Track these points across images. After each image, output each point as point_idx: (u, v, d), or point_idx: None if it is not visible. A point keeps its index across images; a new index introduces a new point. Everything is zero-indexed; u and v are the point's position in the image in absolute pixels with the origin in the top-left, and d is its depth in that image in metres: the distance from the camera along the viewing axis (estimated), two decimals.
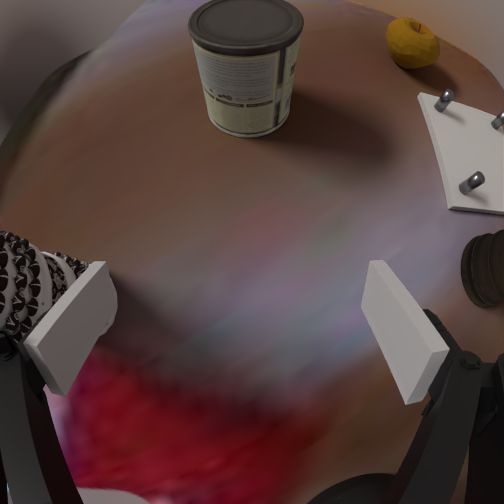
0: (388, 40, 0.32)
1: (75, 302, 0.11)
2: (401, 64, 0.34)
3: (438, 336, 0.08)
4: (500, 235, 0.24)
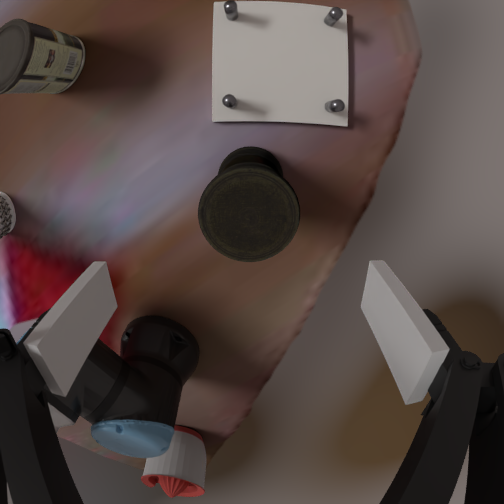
0: None
1: (75, 302, 0.11)
2: None
3: (438, 336, 0.08)
4: (229, 162, 0.33)
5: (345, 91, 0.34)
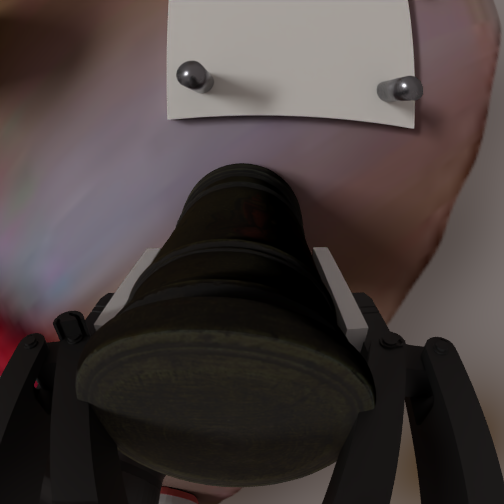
0: None
1: None
2: None
3: (359, 315, 0.10)
4: (194, 204, 0.16)
5: (409, 66, 0.16)
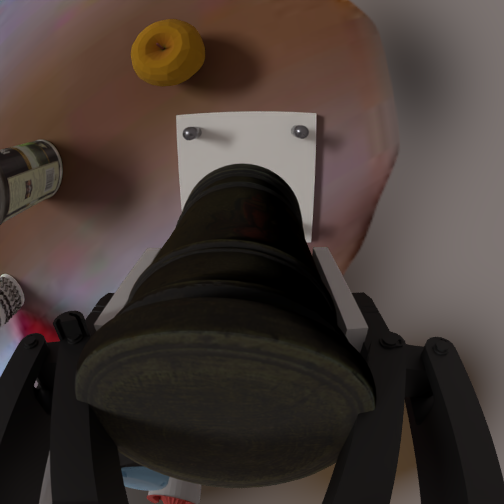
0: None
1: None
2: None
3: (359, 315, 0.10)
4: (194, 205, 0.16)
5: (310, 209, 0.40)
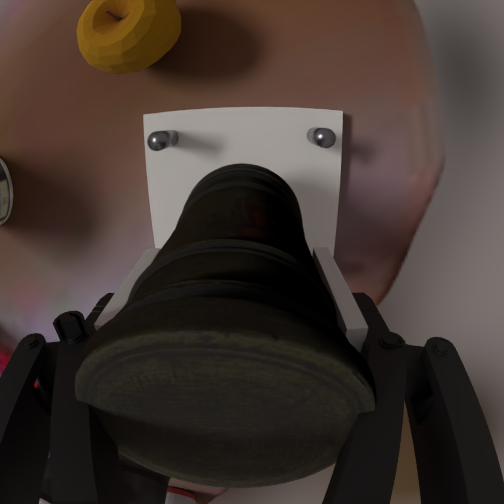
0: None
1: None
2: None
3: (359, 315, 0.10)
4: (194, 204, 0.16)
5: (330, 244, 0.29)
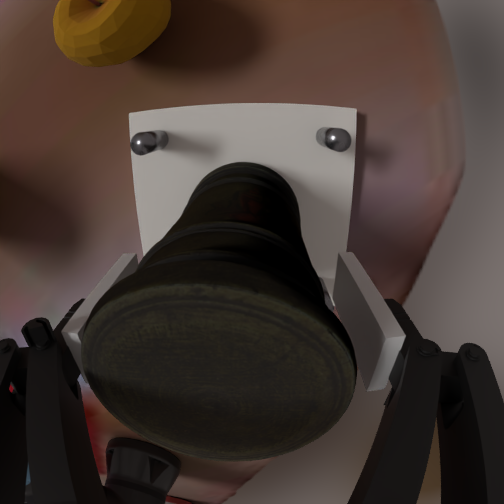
0: None
1: None
2: None
3: (395, 323, 0.09)
4: (196, 198, 0.17)
5: None
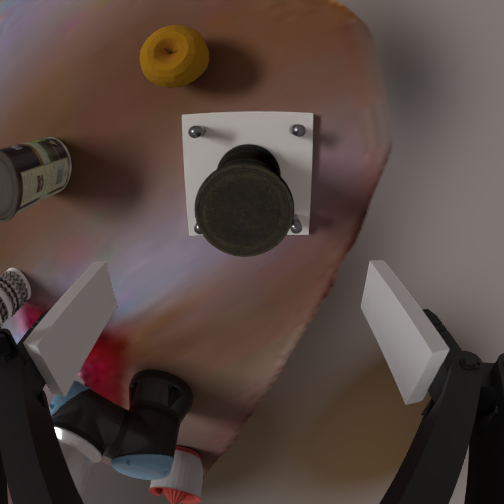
0: None
1: (75, 302, 0.11)
2: None
3: (438, 336, 0.08)
4: (226, 159, 0.34)
5: (307, 202, 0.42)
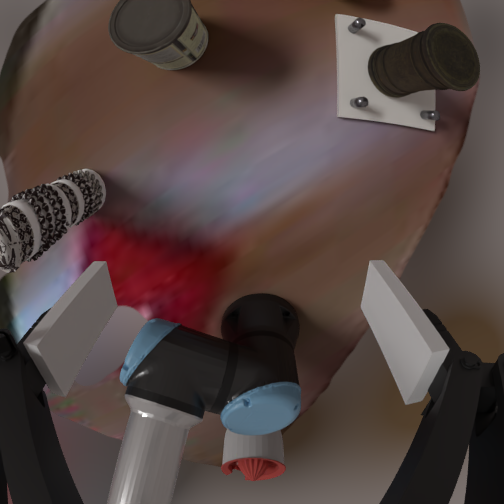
0: None
1: (75, 302, 0.11)
2: None
3: (438, 336, 0.08)
4: (394, 44, 0.30)
5: (433, 103, 0.39)
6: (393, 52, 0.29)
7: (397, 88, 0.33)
